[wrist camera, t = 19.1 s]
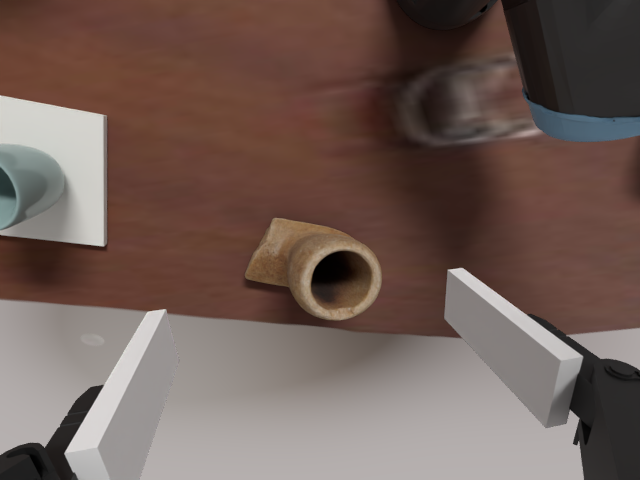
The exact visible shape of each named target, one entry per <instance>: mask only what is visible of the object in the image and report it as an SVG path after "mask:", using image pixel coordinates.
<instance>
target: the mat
mask: <svg viewBox="0 0 640 480" xmlns="http://www.w3.org/2000/svg"><path fill="white" fill-rule="evenodd" d="M0 143H9V144H19V145H25V146H29V147H34V148H36V149H39V150H41V151H44V152H45V153H47V154H49V155H50V156H51V157H53V158H54V159H55V160H56V161H57V163H58V164H59V165H60V167H61V169H62V171H63V174H64V180H65V186H64V191H63V194H62V196H61V197H60V199H59V200H58V201H57V202H56V203H55V204H54V205H53V206H52V207H51V208H50V209H48V210H46V211H45V212H43V213H41V214H39V215H37V216H35V217H33V218H31V219H29V220H27V221H24V222H22V223H20V224H17V225H15V226H13V227H10V228H7V229H4V230H0V235H6V236H15V237H24V238H33V239H42V240H51V241H60V242H69V243H78V244H87V245H96V246H105V245H106V244H107V115H101V114H96V113H91V112H86V111H80V110H75V109H70V108H64V107H59V106H54V105H48V104H43V103H38V102H32V101H27V100H22V99H16V98H11V97H6V96H1V95H0Z"/></svg>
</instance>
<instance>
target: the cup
mask: <svg viewBox="0 0 640 480" xmlns="http://www.w3.org/2000/svg"><path fill="white" fill-rule="evenodd" d="M64 186H65V180H64V174H63V171H62V169H61V167H60V165H59V164H58V163H57V161H56V160H55V159H54V158H53V157H51V156H50V155H49V154H47V153H45V152H44V151H41V150H39V149H36V148H34V147H29V146H25V145H19V144H9V143H0V230H4V229H7V228H10V227H13V226H15V225H17V224H20V223H22V222H24V221H27V220H29V219H31V218H33V217H35V216H37V215H39V214H41V213H43V212H45V211H46V210H48V209H50V208H51V207H52V206H53V205H54V204H55V203H56V202H57V201H58V200H59V199H60V197H61V196H62V194H63V191H64Z"/></svg>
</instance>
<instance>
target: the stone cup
mask: <svg viewBox="0 0 640 480" xmlns="http://www.w3.org/2000/svg"><path fill="white" fill-rule="evenodd" d="M245 278H246V279H248V280H253V281H257V282H263V283H267V284H273V285H279V286H286V287H289V288H290V290H291V293H292V295H293V297H294V298H295V300H296V301H297V302H298V304H299V305H300V306H301V307H302V308H303V309H304V310H305V311H306V312H308V313H310V314H311V315H313V316H315V317H318V318H321V319H325V320H344V319H349V318H352V317H354V316H357V315H359V314H361V313H362V312H364V311H365V310H366V309H367V308H368V307H370V306H371V305H372V303H373V302H374V301H375V299H376V298H377V296H378V293H379V290H380V288H381V283H382V273H381V267H380V264H379V262H378V259H377V258H376V256H375V254H374V253H373V252H372V251H371V250H370V249H369V248H368V247H367V246H365V245H364V244H362V243H360V242H359V241H357V240H354V239H353V238H352V237H350V236H349V235H347V234H345V233H343V232H341V231H339V230H336V229H333V228H329V227H325V226H321V225H315V224H310V223H304V222H298V221H292V220H287V219H281V218H274V219H273V220H272V222H271V224H270V226H269V228H268V229H267V230H266V232H265V235H264V237H263V239H262V240H261V242H260V245H259V247H258V248H257V249H256V250H255V252H254V253H253V255H252V257H251V260H250V262H249V264H248V267H247V270H246V272H245Z"/></svg>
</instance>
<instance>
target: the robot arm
mask: <svg viewBox="0 0 640 480" xmlns="http://www.w3.org/2000/svg"><path fill="white" fill-rule="evenodd" d="M501 1H502V5H503V10H504V15H505V18H506V22H507V26H508V30H509V34H510V38H511V42H512V46H513V50H514V53H515V57H516V61H517V65H518V69H519V73H520V77H521V81H522V85H523V89H522V93H523V97H524V99H525V100H526V101H527V103H528V104H529V107H530V110H531V114H532V117H533V120H534V122H535V124H536V126H537V127H538V128H539V129H540V130H542V131H543V132H544V133H546V134H547V135H549V136H551V137H554V138H557V139H561V140H566V141H575V142H599V141H610V140H618V139H624V138H629V137H634V136H638V135H640V0H501ZM397 2H398V4H399V5H400V7H401V8H402V9H403V11H404V12H405V13H406V14H407V15H408V16H409V17H410V18H411V19H412V20H414V21H415V22H417V23H418V24H420V25H422V26H424V27H427V28H430V29H435V30H450V29H454V28H457V27H460V26H463V25H465V24H467V23H469V22H471V21H473V20H475V19H477V18H478V17H480V16H481V15H483V14H484V13H485V12H486V11H488V10H489V9H490V8H491V7H492V6H493V5H494V4H495V3H496V2H497V0H397ZM444 319H445V320H446V321H447V322H448V323H449V324H450V325H451V326H452V327H453V328H454V329H455V330H456V332H457V333H458V334H459V335H460V336H461V337H462V338H463V339H464V340H465V341H466V342H467V343H468V344H469V346H470V347H471V348H472V349H473V350H474V351H475V352H476V353H477V354H478V355H479V356H480V358H481V359H482V360H483V361H484V362H485V363H486V364H487V365H488V366H489V367H490V368H491V369H492V370H493V372H495V374H496V375H497V376H498V377H499V378H500V379H501V380H502V381H503V382H504V383H505V385H506V386H508V388H509V389H510V390H511V391H512V392H513V393H514V394H515V395H516V396H517V397H518V399H519V400H520V401H521V402H522V403H523V404H524V405H525V406H526V407H527V408H528V409H529V410H530V412H532V414H533V415H534V416H535V417H536V418H537V419H538V420H539V421H540V422H541V423H542V425H544V427H545V428H549V427H553V426H558V425H563V424H566V423H567V419H568V415H569V411H570V410H571V411H573V413H575V414H576V415H577V416H578V417H579V418H580V419H579V423H578V427H577V430H576V434H575V437H574V442H573V444H574V445H577V444H578V441H579V442H580V449H581V458H582V466H583V473H584V480H640V370H638V369H637V368H635V367H633V366H631V365H629V364H627V363H624V362H621V361H618V360H613V359H600V358H598V357H597V356H596V355H594V354H593V353H591V352H590V351H588V350H587V349H586V348H584V347H583V346H581V345H580V344H579V343H577V342H576V341H574V340H573V339H571V338H570V337H567V336H566V334H564V333H563V332H561V331H560V330H557V328H556V327H554V326H553V325H552V324H550V323H549V322H547V321H546V320H544V319H541V318H539V317H537V316H535V315H532V314H527V315H526V314H525V313H523V312H522V311H520V310H519V309H518V308H516V307H515V306H514V305H512V304H511V303H510V302H508V301H507V300H505V299H504V298H503V297H501V296H500V295H499V294H497V293H496V292H495V291H493V290H492V289H490V288H489V287H488V286H486V285H485V284H484V283H482V282H481V281H480V280H478V279H477V278H476V277H474V276H473V275H471V274H470V273H469V272H467V271H466V270H465V269H463V268H457V269H450V270H448V273H447V286H446V300H445V314H444ZM178 363H179V357H178V353H177V350H176V346H175V342H174V338H173V334H172V330H171V326H170V323H169V319H168V315H167V311H166V309H164V310H157V311H149V312H147V313H146V315H145V317H144V319H143V320H142V322H141V324H140V325H139V327H138V329H137V330H136V332H135V334H134V336H133V337H132V339H131V341H130V342H129V344H128V346H127V347H126V349H125V351H124V353H123V354H122V356H121V358H120V359H119V361H118V363H117V365H116V366H115V368H114V370H113V371H112V373H111V375H110V376H109V378H108V380H107V381H106V383H105V385H101V386H94V387H90V388H89V389H88V390H87V391H86V392H85V393H83V394H82V395H81V396H80V397H79V398H78V399H77V400H76V401H75V403H74V404H73V406H72V407H71V409H70V410H69V412H68V415H67V416H65V418H64V420H63V421H62V423H61V424H60V427H59V428H58V429H57V430H56V432H55V433H54V435H53V436H52V438H51V439H50V441H49V442H48V444H47V446H46V447H45V448H44V447H43V446H42V445H41V444H40V443H27V444H24V445H20V446H17V447H15V448H13V449H11V450H8V451H6V452H5V453H3V454H2V455H0V480H139V479H140V476H141V473H142V470H143V467H144V464H145V461H146V458H147V455H148V452H149V449H150V447H151V444H152V440H153V437H154V435H155V431H156V429H157V425H158V423H159V420H160V417H161V414H162V411H163V408H164V405H165V402H166V399H167V396H168V393H169V390H170V387H171V384H172V381H173V378H174V375H175V372H176V369H177V366H178Z"/></svg>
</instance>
